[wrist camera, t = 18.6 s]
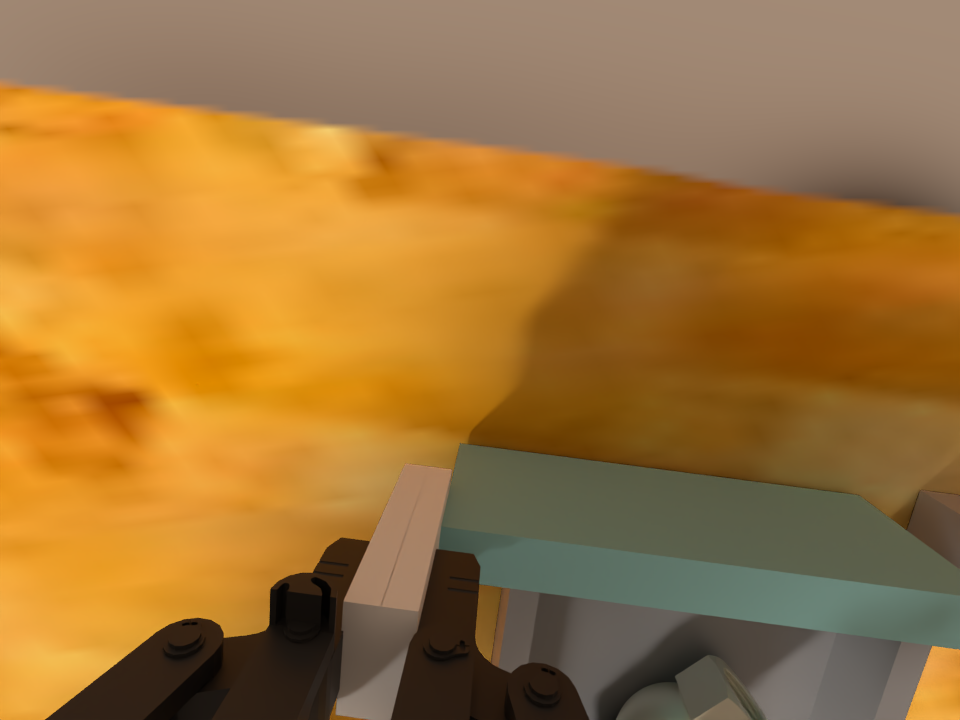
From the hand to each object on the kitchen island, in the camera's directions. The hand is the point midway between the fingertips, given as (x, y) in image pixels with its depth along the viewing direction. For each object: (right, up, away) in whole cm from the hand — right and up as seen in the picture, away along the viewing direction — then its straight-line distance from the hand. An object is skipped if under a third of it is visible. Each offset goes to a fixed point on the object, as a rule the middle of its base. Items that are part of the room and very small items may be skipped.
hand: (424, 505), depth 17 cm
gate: (+8, 0, +4) cm, 9 cm away
